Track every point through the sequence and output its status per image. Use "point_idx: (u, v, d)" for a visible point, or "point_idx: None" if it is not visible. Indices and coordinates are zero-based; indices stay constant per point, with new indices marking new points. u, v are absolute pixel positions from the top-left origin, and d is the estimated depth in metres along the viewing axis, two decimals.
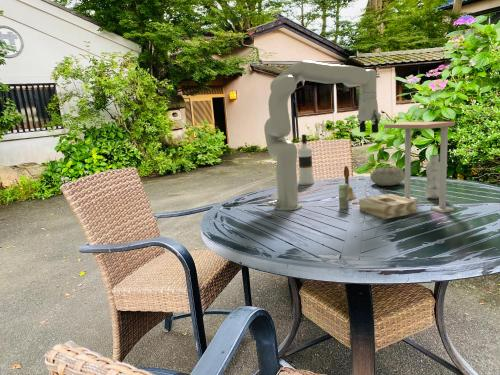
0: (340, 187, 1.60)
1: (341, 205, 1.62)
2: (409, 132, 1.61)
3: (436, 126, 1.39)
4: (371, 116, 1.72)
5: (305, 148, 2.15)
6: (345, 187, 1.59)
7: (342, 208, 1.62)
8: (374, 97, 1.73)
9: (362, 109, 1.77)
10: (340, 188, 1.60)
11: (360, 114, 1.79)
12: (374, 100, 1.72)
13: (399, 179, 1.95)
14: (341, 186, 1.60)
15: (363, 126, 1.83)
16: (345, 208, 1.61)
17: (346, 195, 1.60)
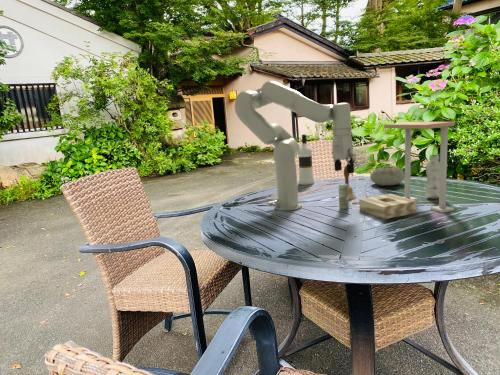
0: (340, 187, 1.60)
1: (341, 205, 1.62)
2: (409, 132, 1.61)
3: (436, 126, 1.39)
4: (345, 155, 1.53)
5: (305, 148, 2.15)
6: (345, 187, 1.59)
7: (342, 208, 1.62)
8: (348, 134, 1.53)
9: (336, 146, 1.58)
10: (340, 188, 1.60)
11: (334, 152, 1.60)
12: (348, 138, 1.53)
13: (399, 179, 1.95)
14: (341, 186, 1.60)
15: (338, 164, 1.63)
16: (345, 208, 1.61)
17: (346, 195, 1.60)
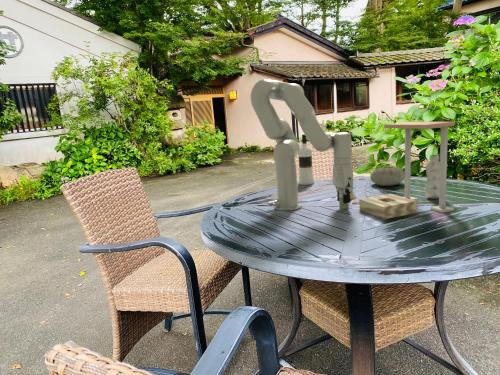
0: None
1: (341, 205, 1.62)
2: (409, 132, 1.61)
3: (436, 126, 1.39)
4: (345, 184, 1.56)
5: (305, 148, 2.15)
6: None
7: (342, 208, 1.62)
8: (349, 163, 1.56)
9: (336, 174, 1.60)
10: (340, 188, 1.60)
11: (334, 179, 1.62)
12: (349, 167, 1.55)
13: (399, 179, 1.95)
14: None
15: None
16: (345, 208, 1.61)
17: None
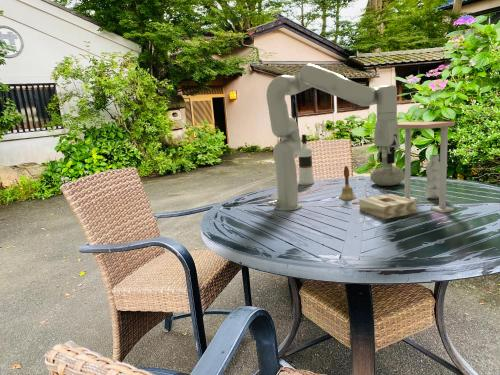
0: (384, 146, 1.47)
1: (384, 166, 1.48)
2: (409, 132, 1.61)
3: (436, 126, 1.39)
4: (391, 141, 1.42)
5: (305, 148, 2.15)
6: None
7: (386, 169, 1.48)
8: (394, 118, 1.43)
9: (379, 132, 1.47)
10: (384, 147, 1.47)
11: (377, 138, 1.49)
12: (394, 123, 1.42)
13: (399, 179, 1.95)
14: None
15: None
16: (389, 169, 1.48)
17: None
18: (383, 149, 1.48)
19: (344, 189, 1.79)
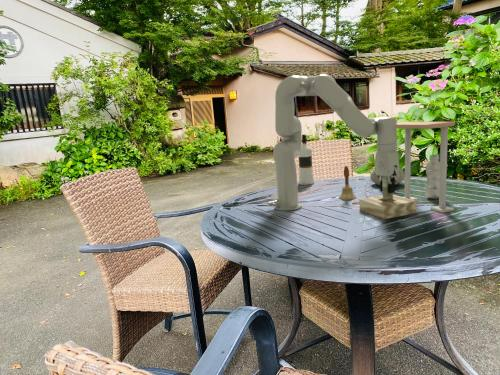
0: (384, 176, 1.49)
1: (385, 195, 1.51)
2: (409, 132, 1.61)
3: (436, 126, 1.39)
4: (391, 172, 1.45)
5: (305, 148, 2.15)
6: None
7: (386, 198, 1.51)
8: (394, 150, 1.45)
9: (380, 162, 1.49)
10: (384, 177, 1.50)
11: (377, 168, 1.51)
12: (395, 154, 1.45)
13: (399, 179, 1.95)
14: None
15: None
16: (389, 198, 1.50)
17: None
18: (384, 179, 1.50)
19: (344, 189, 1.79)
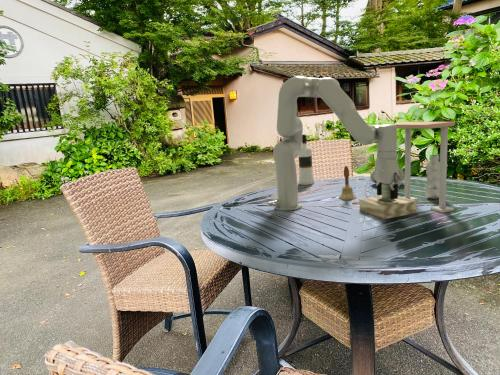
0: (383, 186, 1.50)
1: None
2: (409, 132, 1.61)
3: (436, 126, 1.39)
4: (391, 180, 1.45)
5: (305, 148, 2.15)
6: (389, 187, 1.50)
7: None
8: (394, 157, 1.46)
9: (379, 169, 1.50)
10: (383, 187, 1.51)
11: (377, 174, 1.52)
12: (394, 161, 1.45)
13: None
14: (385, 185, 1.50)
15: (381, 188, 1.55)
16: None
17: None
18: (383, 189, 1.51)
19: (344, 189, 1.79)
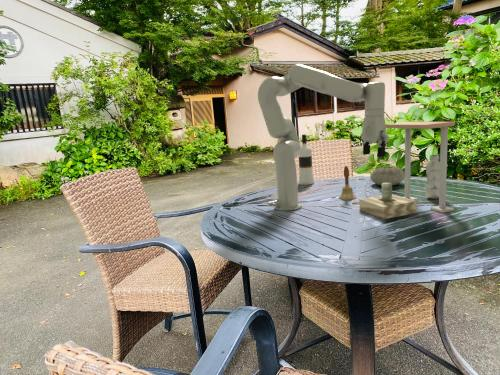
0: (384, 186, 1.50)
1: None
2: (409, 132, 1.61)
3: (436, 126, 1.39)
4: (377, 137, 1.45)
5: (305, 148, 2.15)
6: (390, 187, 1.50)
7: None
8: (381, 115, 1.45)
9: (367, 128, 1.49)
10: (384, 187, 1.51)
11: (364, 134, 1.52)
12: (381, 119, 1.44)
13: (399, 179, 1.95)
14: (385, 185, 1.50)
15: (367, 147, 1.55)
16: None
17: (390, 195, 1.51)
18: (383, 189, 1.51)
19: (344, 189, 1.79)
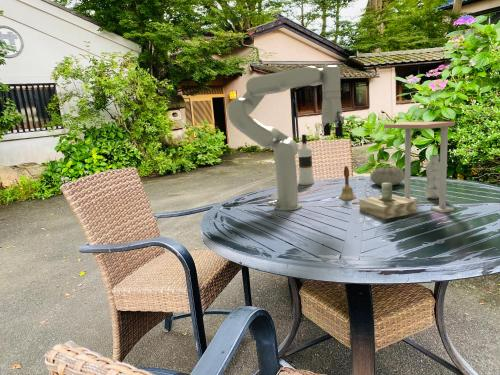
0: (384, 186, 1.50)
1: None
2: (409, 132, 1.61)
3: (436, 126, 1.39)
4: (334, 118, 1.53)
5: (305, 148, 2.15)
6: (390, 187, 1.50)
7: None
8: (337, 97, 1.54)
9: (325, 110, 1.58)
10: (384, 187, 1.51)
11: (323, 116, 1.60)
12: (337, 101, 1.53)
13: (399, 179, 1.95)
14: (385, 185, 1.50)
15: (327, 128, 1.64)
16: None
17: (390, 195, 1.51)
18: (383, 189, 1.51)
19: (344, 189, 1.79)
